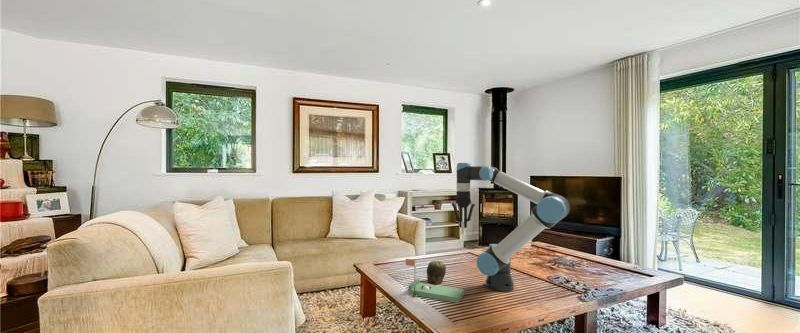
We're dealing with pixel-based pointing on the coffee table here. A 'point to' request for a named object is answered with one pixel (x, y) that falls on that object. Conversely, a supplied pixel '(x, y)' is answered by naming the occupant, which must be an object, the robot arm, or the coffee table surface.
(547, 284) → the coffee table surface
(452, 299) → the mat
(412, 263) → the flag pin
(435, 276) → the ribbed round cactus
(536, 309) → the coffee table surface
